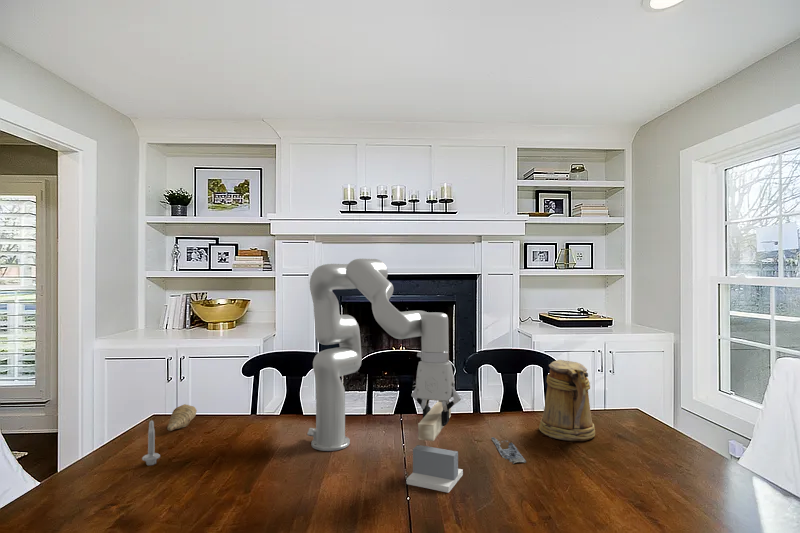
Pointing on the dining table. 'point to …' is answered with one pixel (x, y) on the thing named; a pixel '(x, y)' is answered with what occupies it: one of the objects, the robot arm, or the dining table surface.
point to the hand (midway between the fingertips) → (435, 422)
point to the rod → (431, 423)
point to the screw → (151, 447)
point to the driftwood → (509, 452)
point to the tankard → (567, 403)
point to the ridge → (435, 468)
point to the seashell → (181, 417)
